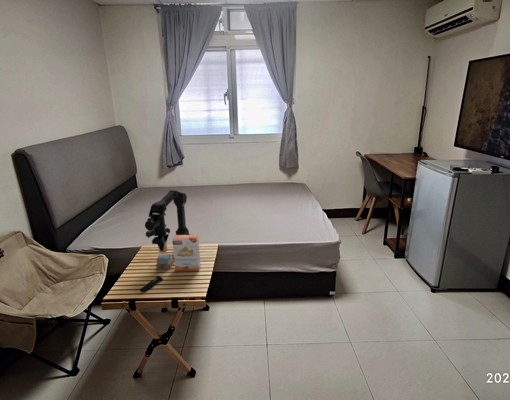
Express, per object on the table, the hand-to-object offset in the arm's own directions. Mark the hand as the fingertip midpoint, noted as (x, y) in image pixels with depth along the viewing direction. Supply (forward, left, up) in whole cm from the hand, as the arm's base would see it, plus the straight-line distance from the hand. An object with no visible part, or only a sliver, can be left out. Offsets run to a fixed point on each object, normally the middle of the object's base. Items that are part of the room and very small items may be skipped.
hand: (162, 249), depth 187 cm
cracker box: (-15, +5, -12) cm, 20 cm away
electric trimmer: (+1, +22, -12) cm, 25 cm away
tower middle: (0, 0, -8) cm, 8 cm away
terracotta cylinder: (0, 0, -1) cm, 1 cm away
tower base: (0, 0, -12) cm, 12 cm away
